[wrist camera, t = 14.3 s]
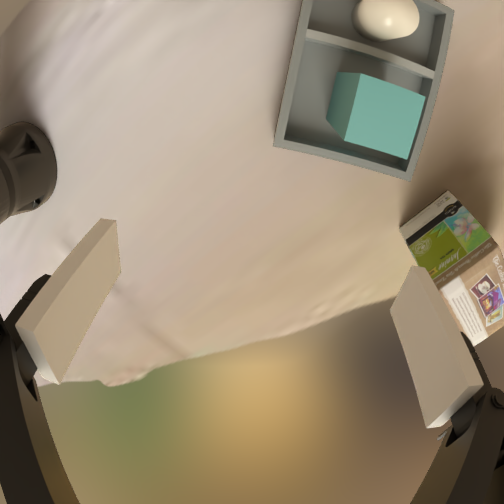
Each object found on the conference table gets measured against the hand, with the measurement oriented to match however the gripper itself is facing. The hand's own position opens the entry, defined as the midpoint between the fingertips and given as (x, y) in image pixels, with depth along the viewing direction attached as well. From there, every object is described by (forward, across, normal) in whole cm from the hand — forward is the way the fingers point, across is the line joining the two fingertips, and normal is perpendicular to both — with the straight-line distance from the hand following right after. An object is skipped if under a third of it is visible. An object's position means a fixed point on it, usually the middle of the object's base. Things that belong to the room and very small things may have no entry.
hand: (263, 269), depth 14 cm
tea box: (+28, +29, -10) cm, 41 cm away
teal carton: (+27, +9, +6) cm, 29 cm away
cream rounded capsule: (+27, +10, +17) cm, 33 cm away
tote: (+28, +10, +10) cm, 31 cm away
